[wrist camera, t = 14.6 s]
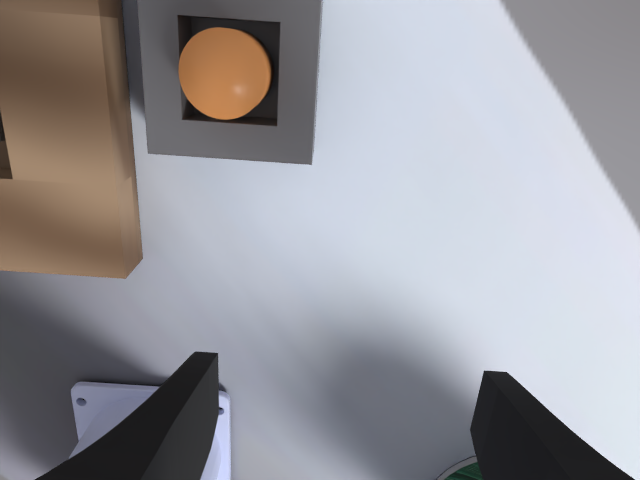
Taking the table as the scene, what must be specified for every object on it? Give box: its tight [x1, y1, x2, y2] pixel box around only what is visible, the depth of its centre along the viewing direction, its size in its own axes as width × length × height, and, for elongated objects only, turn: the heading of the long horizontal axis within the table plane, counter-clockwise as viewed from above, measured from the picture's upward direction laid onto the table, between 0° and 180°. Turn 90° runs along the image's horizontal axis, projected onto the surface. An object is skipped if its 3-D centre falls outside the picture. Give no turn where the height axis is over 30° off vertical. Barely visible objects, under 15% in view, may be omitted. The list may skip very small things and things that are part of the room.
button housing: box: [137, 0, 323, 165], centre depth 18 cm, size 6×6×2 cm
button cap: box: [178, 27, 274, 120], centre depth 17 cm, size 3×3×2 cm
